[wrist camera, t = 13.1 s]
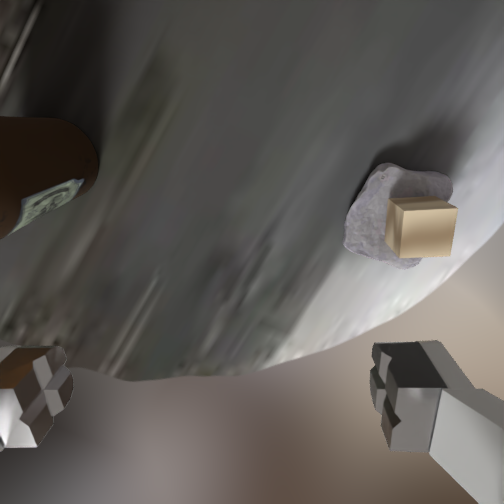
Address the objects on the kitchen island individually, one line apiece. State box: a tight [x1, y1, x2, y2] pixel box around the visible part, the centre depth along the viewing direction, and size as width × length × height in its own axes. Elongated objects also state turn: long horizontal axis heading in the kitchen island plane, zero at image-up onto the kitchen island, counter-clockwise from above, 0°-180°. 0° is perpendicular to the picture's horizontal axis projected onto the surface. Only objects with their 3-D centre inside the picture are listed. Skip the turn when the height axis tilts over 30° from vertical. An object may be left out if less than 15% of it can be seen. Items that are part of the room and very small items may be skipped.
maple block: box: [384, 196, 458, 258], centre depth 36 cm, size 5×5×5 cm
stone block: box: [343, 163, 453, 270], centre depth 41 cm, size 12×5×10 cm
